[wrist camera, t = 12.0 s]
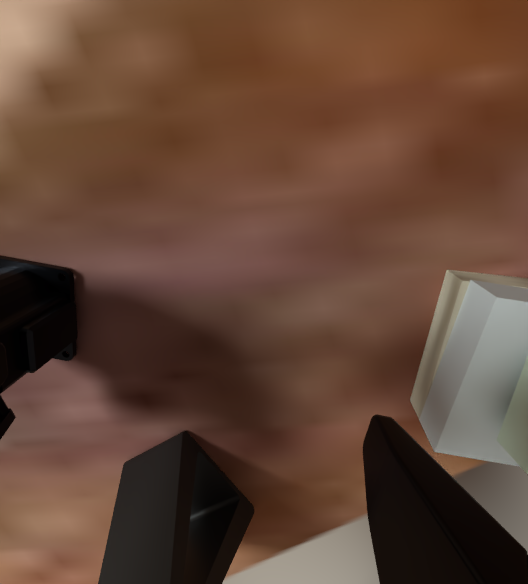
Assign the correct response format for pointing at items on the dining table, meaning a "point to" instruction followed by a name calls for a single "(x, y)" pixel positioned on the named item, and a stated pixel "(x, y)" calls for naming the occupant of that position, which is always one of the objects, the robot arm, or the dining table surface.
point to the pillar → (517, 423)
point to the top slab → (478, 373)
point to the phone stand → (174, 518)
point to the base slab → (448, 326)
